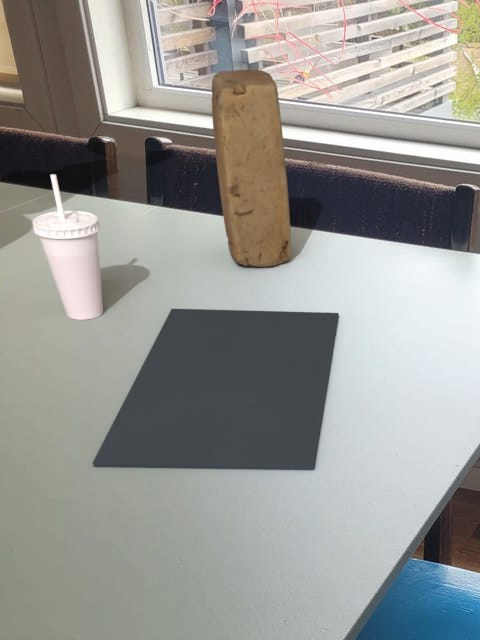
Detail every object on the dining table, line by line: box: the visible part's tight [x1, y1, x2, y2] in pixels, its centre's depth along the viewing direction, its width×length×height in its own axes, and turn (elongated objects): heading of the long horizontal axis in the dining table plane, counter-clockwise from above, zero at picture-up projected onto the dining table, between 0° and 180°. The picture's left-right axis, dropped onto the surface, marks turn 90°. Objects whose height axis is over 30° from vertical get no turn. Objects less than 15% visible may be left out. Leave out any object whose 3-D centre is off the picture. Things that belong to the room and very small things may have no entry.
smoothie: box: [32, 173, 104, 321], centre depth 102 cm, size 6×6×14 cm
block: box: [211, 69, 292, 268], centre depth 117 cm, size 11×8×20 cm
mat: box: [92, 308, 340, 471], centre depth 95 cm, size 18×34×1 cm, turn 3°
